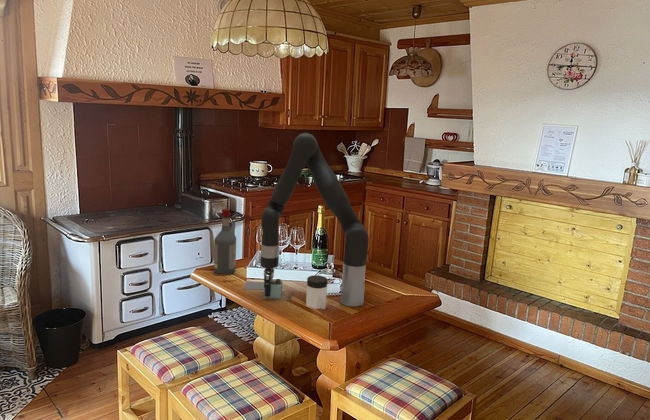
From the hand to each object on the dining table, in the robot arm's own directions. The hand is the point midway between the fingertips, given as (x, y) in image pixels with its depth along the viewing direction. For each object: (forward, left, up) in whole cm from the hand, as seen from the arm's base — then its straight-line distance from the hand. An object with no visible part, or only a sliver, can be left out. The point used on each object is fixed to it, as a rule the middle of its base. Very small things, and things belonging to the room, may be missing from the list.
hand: (268, 292), depth 205 cm
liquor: (+23, -28, -2) cm, 36 cm away
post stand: (-4, 0, -2) cm, 4 cm away
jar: (-20, +7, -2) cm, 21 cm away
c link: (-2, 0, -1) cm, 2 cm away
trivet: (+7, -9, -2) cm, 12 cm away
